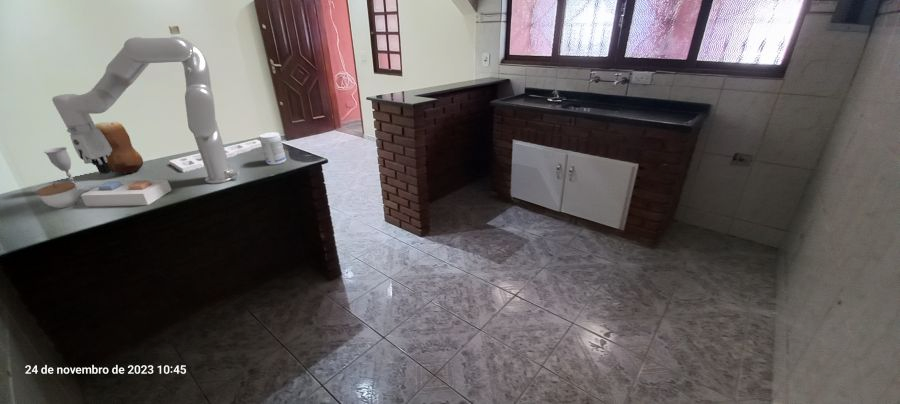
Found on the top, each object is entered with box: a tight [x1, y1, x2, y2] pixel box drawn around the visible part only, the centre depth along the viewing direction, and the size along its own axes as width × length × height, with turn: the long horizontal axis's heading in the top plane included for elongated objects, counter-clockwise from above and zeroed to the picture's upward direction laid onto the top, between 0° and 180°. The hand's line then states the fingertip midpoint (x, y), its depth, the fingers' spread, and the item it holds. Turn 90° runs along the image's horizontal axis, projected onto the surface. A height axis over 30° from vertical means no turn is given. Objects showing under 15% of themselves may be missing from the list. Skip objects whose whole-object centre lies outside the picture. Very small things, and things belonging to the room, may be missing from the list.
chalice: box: [43, 146, 85, 191], centre depth 151 cm, size 7×7×18 cm
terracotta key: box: [129, 181, 152, 190], centre depth 144 cm, size 5×5×3 cm
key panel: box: [80, 179, 172, 207], centre depth 145 cm, size 24×14×5 cm, turn 92°
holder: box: [169, 139, 262, 173], centre depth 192 cm, size 45×18×3 cm, turn 142°
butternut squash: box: [94, 121, 144, 175], centre depth 166 cm, size 14×13×25 cm
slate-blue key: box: [97, 180, 122, 191], centre depth 144 cm, size 5×5×3 cm
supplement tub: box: [259, 131, 287, 166], centre depth 180 cm, size 10×10×15 cm
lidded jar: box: [36, 181, 80, 209], centre depth 139 cm, size 11×11×9 cm
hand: (105, 172), depth 141 cm, fingers closed
